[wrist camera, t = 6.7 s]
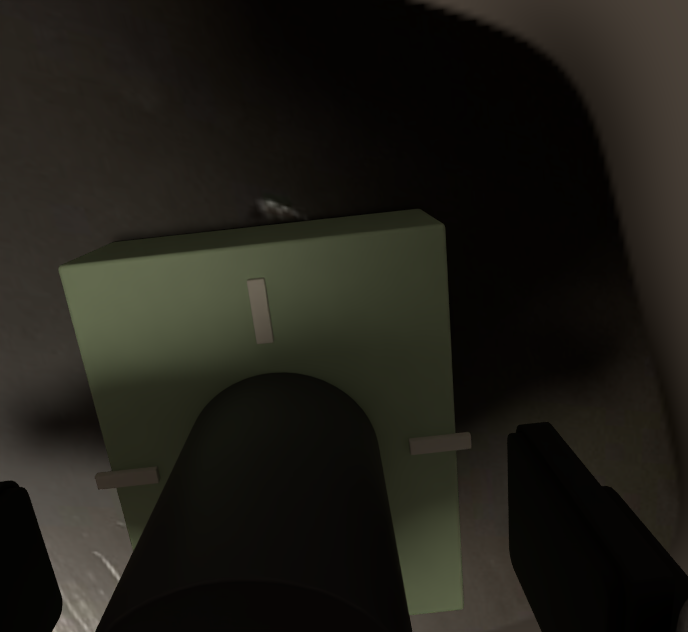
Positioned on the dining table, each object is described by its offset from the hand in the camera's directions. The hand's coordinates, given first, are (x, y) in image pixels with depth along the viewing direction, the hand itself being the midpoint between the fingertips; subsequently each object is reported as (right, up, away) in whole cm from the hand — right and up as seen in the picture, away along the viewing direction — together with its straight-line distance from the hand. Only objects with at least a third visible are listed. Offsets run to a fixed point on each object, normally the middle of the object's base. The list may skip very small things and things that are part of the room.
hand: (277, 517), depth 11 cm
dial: (0, +1, +2) cm, 2 cm away
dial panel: (0, +1, +5) cm, 5 cm away
